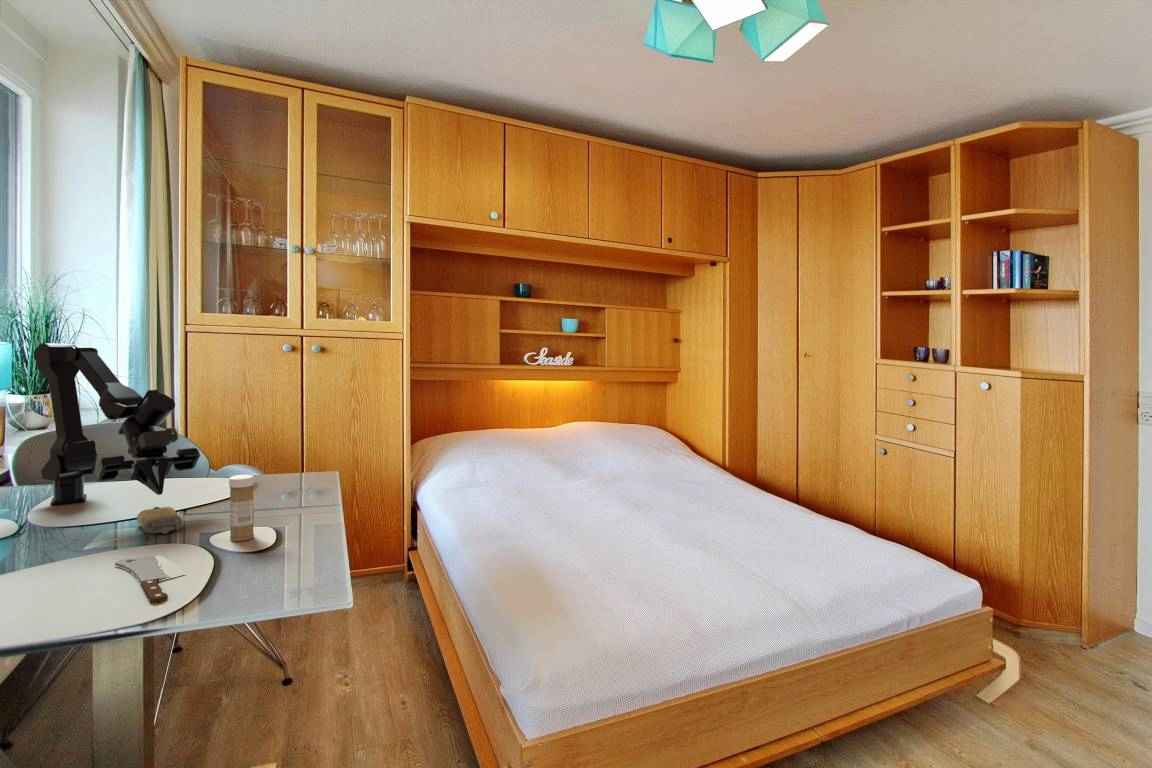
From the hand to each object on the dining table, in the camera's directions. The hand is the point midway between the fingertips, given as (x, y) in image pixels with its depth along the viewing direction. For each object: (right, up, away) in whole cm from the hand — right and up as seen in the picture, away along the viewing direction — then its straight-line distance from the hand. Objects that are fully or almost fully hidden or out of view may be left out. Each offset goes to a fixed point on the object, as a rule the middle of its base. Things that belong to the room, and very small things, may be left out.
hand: (160, 493), depth 129 cm
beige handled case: (-2, -5, +1) cm, 6 cm away
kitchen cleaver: (+19, -10, -27) cm, 34 cm away
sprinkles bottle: (+22, -9, -6) cm, 24 cm away
